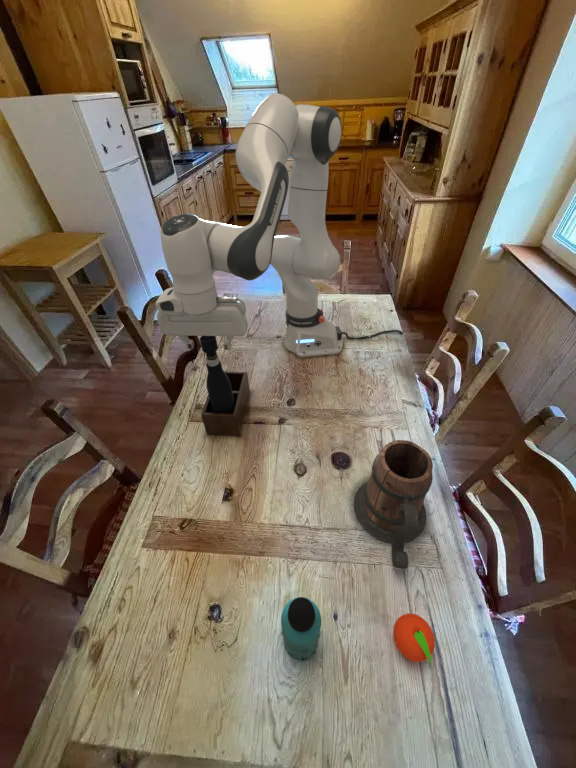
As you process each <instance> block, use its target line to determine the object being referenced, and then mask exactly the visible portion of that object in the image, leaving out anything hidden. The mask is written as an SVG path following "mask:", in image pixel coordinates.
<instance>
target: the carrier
mask: <svg viewBox="0 0 576 768" xmlns="http://www.w3.org/2000/svg"><path fill="white" fill-rule="evenodd" d="M223 371H224V372H225V373H226V375H227V377H228V379H229V381H230V384H231V389H232V394H233V399H234V404H235V409H234V413H233V414H228V413H213V409H212V405H211V401H210V398H209V394H207V397H206V400H205V402H204V404H203V408H202V411H201V413H200V416H201V420H202V424H203V426H204V429H205V433H206V436H220V437H221V436H224V437H225V436H226V437H240V436H241V433H242V430H243V425H244V421H245V416H246V412H247V407H248V402H249V398H250V394H251V390H250V382H249V376H248V375H249V374H248V371H237V370H236V371H234V370H233V371H232V370H231V371H230V370H223Z"/></svg>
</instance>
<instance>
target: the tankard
mask: <svg viewBox="0 0 576 768" xmlns="http://www.w3.org/2000/svg"><path fill="white" fill-rule="evenodd" d="M433 463H434V462H433V459H432V457H431V455H430V454H429V452H428V451H426V450H425V449H424V448H423V447H421V446H420V445H419V444H417V443H415V442H413V441H411V440H404V439H397V440H392V441H390V442H388V443H387V444H385V445H384V446H383V447H382V448H381V450H380V452H379V453H378V454H377V455H376V456H375V458H374V459H373V462H372V466H371V473H370V476H369V478H368V480H367V481H365V482H363V483H362V484H361V485H360V486H359V487H358V489H357V490H356V492H355V495H354V496H353V497H354V498H353V512H354V515H355V519H356V520H357V522H358V523H359V525H360V526H361V527H362V529H363V530H364V531H365V532H366V533H367V534H368V535H370V536H371V537H373V538H374V539H375V540H377V541H380V542H382V543H385V544H389V545H391V551H390V552H391V563H392V566H393V567H394V568H395V569H401V570H407V569H408V568H409V555H408V552H407V551H405V545H406V544H409V543H410V542H413V541H415V540H416V539H418V538H419V537H420V536H421V534H422V533H423V532H424V529H425V527H426V524H427V510H426V507H425V504H424V503H425V499H426V496H427V494H428V493H429V491H430V489H431V486H432V484H433V479H434V478H433V476H434V475H433V468H434V467H433V466H434V464H433Z"/></svg>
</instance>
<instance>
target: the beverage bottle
mask: <svg viewBox="0 0 576 768" xmlns="http://www.w3.org/2000/svg"><path fill="white" fill-rule="evenodd" d="M280 624H281V634H282V635H281V637H282V640H283V645H284V646H283V648H284V650H285V652H286V654H287V655H288V656H289V657H290V658H291V659H292V660H294V661H297V662H301V663H303V662H305V661H306V662H307V661H309V660H311V659H312V657H314V655H316V653H317V650H318V648H319V640H320V638H321V630H322V629H321V628H322V614H321V611H320V610H319V608H318V606H317V604H316V603H315V602H314V601H313V600H311V599H309V598H308V597H304V596H298V597H294V598H291V599H290V600H289V601H288V602H287V603H286V604H285V606H284V607H283V609H282V612H281V616H280Z"/></svg>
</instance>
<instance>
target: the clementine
mask: <svg viewBox="0 0 576 768" xmlns="http://www.w3.org/2000/svg"><path fill="white" fill-rule="evenodd" d="M392 635H393V636H392V637H393V641H394V644H395V647H396V648H397V650H398V652H399V653H400V654H401V655H402V656H403V657H404V658H405V659H407V660H408V661H411V662H413V663H423V662H425V661H428V662H429V666H430V667H432V655H433V653H434V650H435V647H436V639H435V634H434V632H433V629H432V627H431V625H430V624H429V623H428V622H427V621H426V619H424V618H423V617H421V616H420V615H418V614H415V613H405V614H402V615H401V616H399V617H398V618H397V619H396V621H395V622H394V624H393V631H392Z"/></svg>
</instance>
